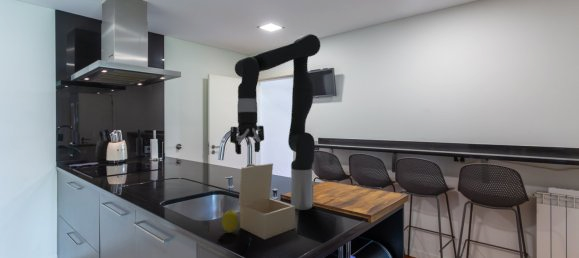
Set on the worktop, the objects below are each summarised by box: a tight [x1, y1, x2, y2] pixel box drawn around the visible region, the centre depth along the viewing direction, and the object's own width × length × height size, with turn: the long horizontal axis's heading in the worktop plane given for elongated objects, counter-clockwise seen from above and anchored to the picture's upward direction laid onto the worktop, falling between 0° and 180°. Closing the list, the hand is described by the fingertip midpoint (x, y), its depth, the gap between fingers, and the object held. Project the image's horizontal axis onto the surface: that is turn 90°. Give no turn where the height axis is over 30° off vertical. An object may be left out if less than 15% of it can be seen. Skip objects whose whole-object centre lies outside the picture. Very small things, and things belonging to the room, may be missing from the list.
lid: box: [238, 162, 274, 206], centre depth 111 cm, size 14×14×6 cm
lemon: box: [221, 209, 240, 234], centre depth 100 cm, size 6×6×8 cm
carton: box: [239, 197, 296, 240], centre depth 104 cm, size 14×14×8 cm
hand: (248, 153), depth 112 cm, fingers open, 8 cm apart
